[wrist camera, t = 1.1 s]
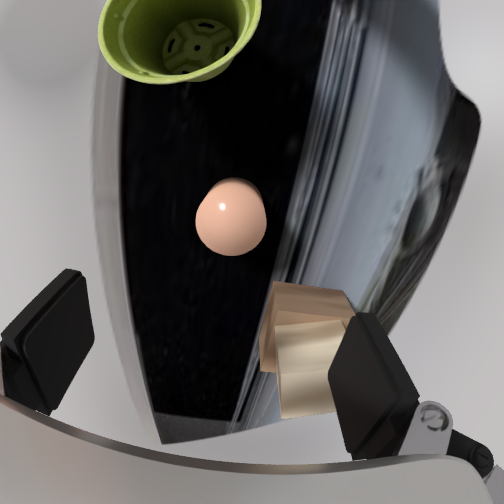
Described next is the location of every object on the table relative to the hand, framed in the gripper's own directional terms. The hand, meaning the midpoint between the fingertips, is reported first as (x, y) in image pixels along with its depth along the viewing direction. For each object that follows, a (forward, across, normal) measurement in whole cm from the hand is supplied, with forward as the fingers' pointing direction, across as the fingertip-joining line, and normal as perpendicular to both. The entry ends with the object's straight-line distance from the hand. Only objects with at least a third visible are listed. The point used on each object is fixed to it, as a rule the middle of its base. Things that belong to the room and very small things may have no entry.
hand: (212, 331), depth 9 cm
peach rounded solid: (+16, 0, 0) cm, 16 cm away
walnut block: (+16, -8, +10) cm, 21 cm away
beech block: (+11, -8, +10) cm, 17 cm away
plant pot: (+17, +5, -13) cm, 22 cm away
